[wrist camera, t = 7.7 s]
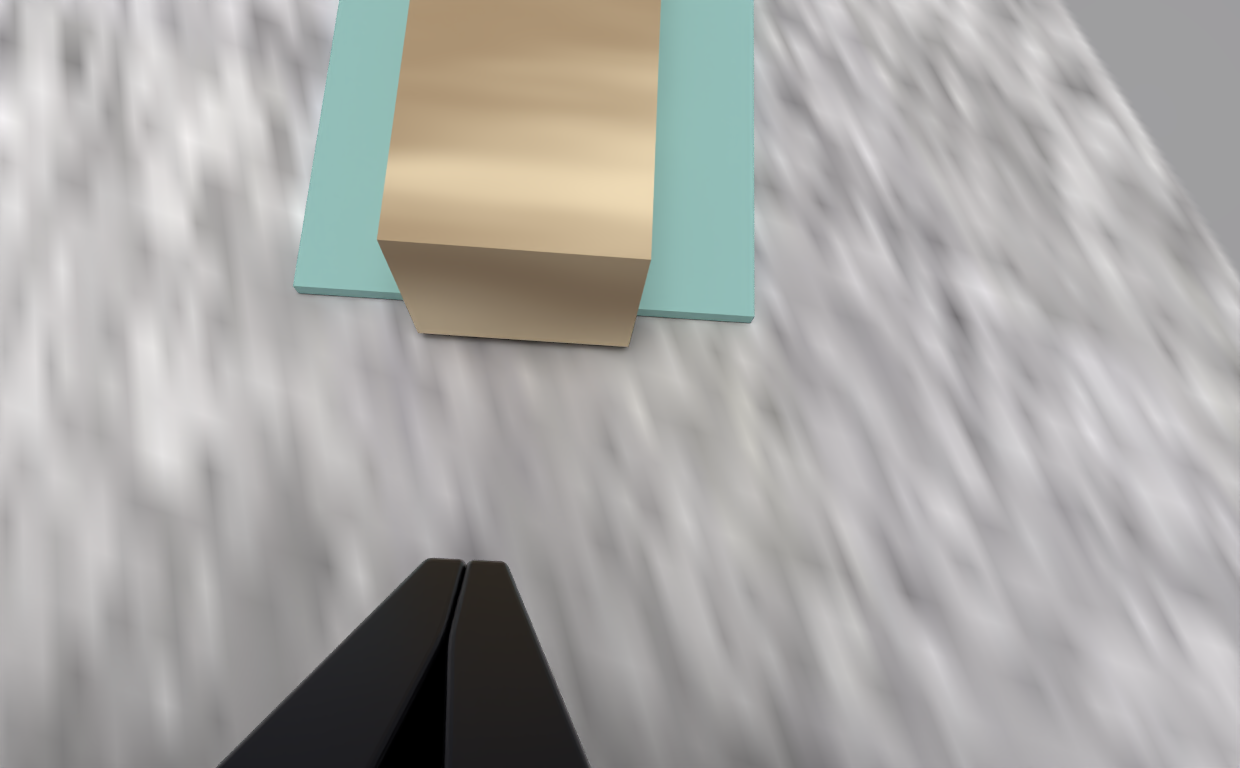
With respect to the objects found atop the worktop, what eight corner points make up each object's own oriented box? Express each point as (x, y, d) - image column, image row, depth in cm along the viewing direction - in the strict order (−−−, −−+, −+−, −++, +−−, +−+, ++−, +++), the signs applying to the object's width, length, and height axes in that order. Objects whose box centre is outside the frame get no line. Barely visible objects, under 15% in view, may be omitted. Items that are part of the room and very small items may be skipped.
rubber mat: (750, 322, 19) (754, 316, 19) (298, 292, 19) (292, 285, 18) (749, -102, 23) (753, -115, 22) (367, -139, 22) (364, -152, 22)
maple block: (651, 259, 14) (671, -276, 18) (376, 239, 14) (450, -299, 17) (628, 346, 19) (648, -97, 22) (418, 333, 18) (471, -114, 22)
